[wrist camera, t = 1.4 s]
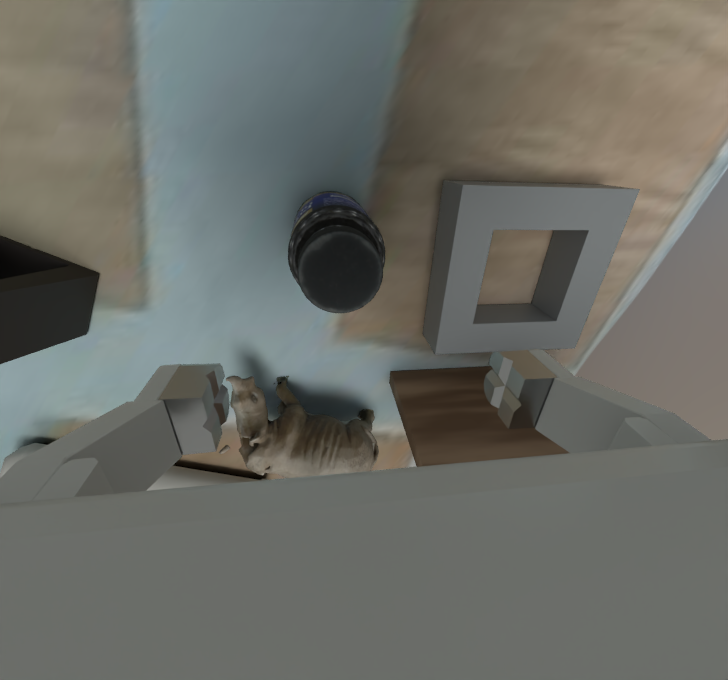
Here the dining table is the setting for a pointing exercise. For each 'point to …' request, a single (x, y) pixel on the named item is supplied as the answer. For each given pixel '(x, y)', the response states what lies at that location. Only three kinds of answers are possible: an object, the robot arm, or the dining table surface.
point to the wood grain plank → (459, 419)
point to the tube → (168, 480)
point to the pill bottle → (336, 253)
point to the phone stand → (41, 300)
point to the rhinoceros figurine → (298, 435)
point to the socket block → (559, 272)
